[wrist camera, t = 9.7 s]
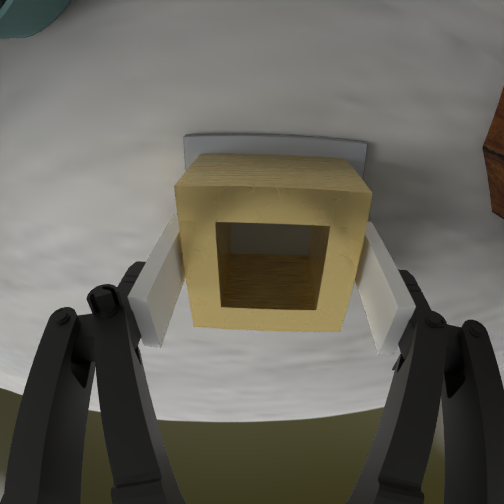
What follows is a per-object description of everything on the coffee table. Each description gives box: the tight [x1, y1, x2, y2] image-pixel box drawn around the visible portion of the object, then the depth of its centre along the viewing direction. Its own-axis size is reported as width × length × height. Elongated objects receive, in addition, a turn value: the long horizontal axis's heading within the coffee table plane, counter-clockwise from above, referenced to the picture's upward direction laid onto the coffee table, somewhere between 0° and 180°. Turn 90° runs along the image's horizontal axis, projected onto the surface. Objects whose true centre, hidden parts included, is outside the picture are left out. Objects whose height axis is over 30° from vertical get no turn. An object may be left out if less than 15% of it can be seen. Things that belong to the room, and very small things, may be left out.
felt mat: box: [183, 134, 367, 256], centre depth 18 cm, size 10×10×1 cm
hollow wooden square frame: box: [174, 154, 373, 332], centre depth 16 cm, size 8×8×5 cm
